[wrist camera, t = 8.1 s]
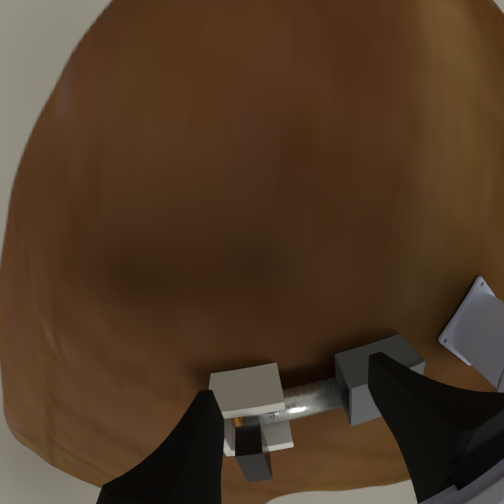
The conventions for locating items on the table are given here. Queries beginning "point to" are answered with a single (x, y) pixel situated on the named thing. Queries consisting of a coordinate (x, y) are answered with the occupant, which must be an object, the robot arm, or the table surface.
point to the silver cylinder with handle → (296, 406)
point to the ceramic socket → (251, 402)
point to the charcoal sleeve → (356, 374)
